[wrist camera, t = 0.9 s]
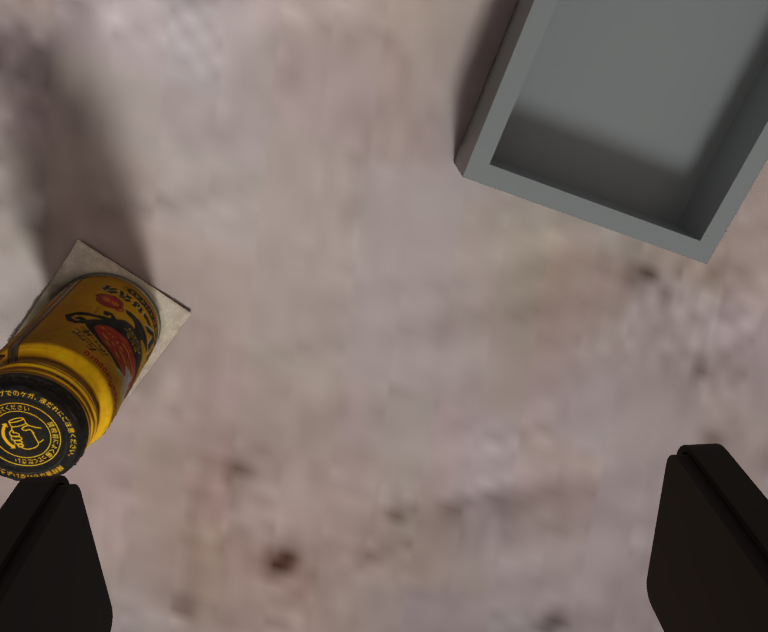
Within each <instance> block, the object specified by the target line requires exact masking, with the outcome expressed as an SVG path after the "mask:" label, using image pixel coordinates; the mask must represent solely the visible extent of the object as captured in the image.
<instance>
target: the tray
mask: <svg viewBox="0 0 768 632" xmlns="http://www.w3.org/2000/svg"><path fill="white" fill-rule="evenodd" d="M767 159H768V0H518V1H517V4H516V6H515V9H514V12H513V14H512V17H511V19H510V22H509V24H508V27H507V29H506V32H505V34H504V37H503V39H502V42H501V44H500V47H499V49H498V52H497V54H496V57H495V59H494V62H493V64H492V67H491V69H490V72H489V74H488V77H487V79H486V82H485V84H484V87H483V90H482V92H481V95H480V97H479V100H478V102H477V105H476V107H475V110H474V112H473V115H472V117H471V120H470V122H469V125H468V127H467V130H466V132H465V135H464V137H463V140H462V142H461V145H460V147H459V150H458V152H457V155H456V157H455V160H454V164H455V165H456V167H457V168H458V170H459V172H460V173H461V175H462V176H463V177H465V178H467V179H470V180H473V181H476V182H479V183H481V184H484V185H487V186H490V187H493V188H495V189H498V190H501V191H504V192H507V193H509V194H512V195H515V196H518V197H521V198H523V199H526V200H529V201H532V202H535V203H537V204H540V205H543V206H546V207H549V208H551V209H554V210H557V211H560V212H563V213H565V214H568V215H571V216H574V217H577V218H579V219H582V220H585V221H588V222H591V223H593V224H596V225H599V226H602V227H605V228H607V229H610V230H613V231H616V232H619V233H621V234H624V235H627V236H630V237H633V238H635V239H638V240H641V241H644V242H647V243H649V244H652V245H655V246H658V247H660V248H663V249H666V250H669V251H672V252H674V253H677V254H680V255H683V256H686V257H688V258H691V259H694V260H697V261H700V262H702V263H705V264H707V263H708V261H709V259H710V258H711V256H712V254H713V253H714V251H715V249H716V247H717V246H718V244H719V242H720V240H721V239H722V237H723V235H724V233H725V232H726V230H727V228H728V227H729V225H730V223H731V221H732V220H733V218H734V216H735V214H736V213H737V211H738V209H739V207H740V206H741V204H742V202H743V201H744V199H745V197H746V195H747V194H748V192H749V190H750V188H751V187H752V185H753V183H754V181H755V180H756V178H757V176H758V175H759V173H760V171H761V169H762V168H763V166H764V164H765V162H766V161H767Z"/></svg>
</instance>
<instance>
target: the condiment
mask: <svg viewBox="0 0 768 632" xmlns="http://www.w3.org/2000/svg"><path fill="white" fill-rule="evenodd" d="M190 315H191V313H190V312H189V311H187V310H186V309H184V308H183V307H181V306H180V305H178V304H177V303H175V302H174V301H173V300H171V299H169V298H168V297H166V296H165V295H164V294H162V293H161V292H159V291H158V290H156V289H155V288H153V287H151V286H150V285H149V284H147V283H146V282H144V281H143V280H141V279H140V278H138V277H136V276H135V275H133V274H132V273H130V272H129V271H127V270H125V269H124V268H122V267H121V266H119V265H118V264H116V263H115V262H113V261H111V260H109V259H108V258H106V257H104V256H102V255H101V254H100V253H98V252H97V251H95V250H93V249H92V248H90V247H89V246H87V245H86V244H84V243H83V242H81V241H80V240H78V241H77V242H76V244H75V245H74V247H73V248H72V250H71V252H70V253H69V255H68V256H67V258H66V259H65V261H64V262H63V264H62V265H61V267H60V268H59V270H58V271H57V273H56V275H55V276H54V278H53V279H52V281H51V282H50V284H49V285H48V287H47V288H46V290H45V291H44V293H43V294H42V296H41V297H40V299H39V300H38V302H37V303H36V304H35V306H34V307H33V309H32V311H31V312H30V314H29V315H28V317H27V318H26V320H25V321H24V323H23V324H22V326H21V327H20V329H19V330H18V332H17V333H16V335H15V336H14V338H12V339H11V341H9V342H8V343H7V344H6V345H5V346H4V347H3V348H2V349H1V350H0V475H1V476H4V477H7V478H10V479H13V480H16V481H21V480H22V479H23V478H26V477H37V476H58V475H61V474H64V473H66V472H67V471H68V470H69V469H70V468H72V467H73V466H74V465H76V463H77V462H78V461H79V459H80V457H82V456H83V454H84V451H85V450H86V448H87V447H88V446H89V445H90V444H91V443H93V442H94V441H96V440H97V439H99V438H100V437H101V436H102V435H103V434H104V433H105V432H106V430H107V429H108V427H109V426H110V424H111V422H112V421H113V419H114V417H115V416H116V415H117V412H118V410H119V409H120V408H121V406H122V405H123V404H124V402H125V401H126V400H127V398H128V397H129V396H130V394H131V393H132V392H133V390H134V389H135V388H136V386H137V385H138V383H139V382H140V381H141V380H142V378H143V377H144V376H145V374H146V373H147V372H148V370H149V369H150V368H151V366H152V365H153V364H154V362H155V361H156V360H157V358H158V357H159V356H160V354H161V353H162V352H163V350H164V349H165V348H166V346H167V345H168V344H169V342H170V341H171V340H172V338H173V337H174V336H175V334H176V333H177V332H178V331H179V329H180V328H181V326H182V325H183V324H184V323H185V321H186V320H187V319H188V317H189V316H190Z"/></svg>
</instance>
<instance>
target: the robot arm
mask: <svg viewBox="0 0 768 632" xmlns="http://www.w3.org/2000/svg"><path fill="white" fill-rule="evenodd" d="M647 592H648V597H649V600H650V603H651V606H652V608H653V610H654V612H655V614H656V616H657V618H658V620H659V622H660V624H661V626H662V628H663V630H664V632H768V499H767V498H766V497H765V496H764V495H763V493H762V492H761V491H760V490H759V489H758V487H757V486H756V485H755V484H754V483H753V481H752V480H751V479H750V478H749V476H748V475H747V474H746V473H745V472H744V470H743V469H742V468H741V467H740V466H739V464H738V463H737V462H736V461H735V460H734V458H733V457H732V456H731V455H730V454H729V452H728V451H727V450H726V449H725V448H724V447H723V446H722V445H720V444H697V445H683V446H681V447H680V448H679V450H678V452H677V455H671V456H669V458H668V459H667V463H666V469H665V475H664V481H663V487H662V493H661V498H660V504H659V510H658V516H657V522H656V528H655V534H654V540H653V546H652V552H651V558H650V564H649V570H648V575H647ZM112 618H113V614H112V606H111V602H110V599H109V595H108V591H107V587H106V584H105V580H104V576H103V572H102V569H101V565H100V561H99V558H98V554H97V550H96V546H95V543H94V539H93V535H92V531H91V528H90V524H89V520H88V516H87V513H86V509H85V505H84V502H83V498H82V494H81V491H80V488H79V487H78V485H76V484H69V481H68V480H67V478H66V477H65V476H62V475H58V476H37V477H26V478H23V479H22V480H21V481H20V482H19V483H18V485H17V486H16V487H15V489H14V490H13V492H12V493H11V494H10V496H9V497H8V499H7V500H6V502H5V503H4V504H3V506H2V507H1V509H0V632H110V631H111V626H112Z"/></svg>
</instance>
